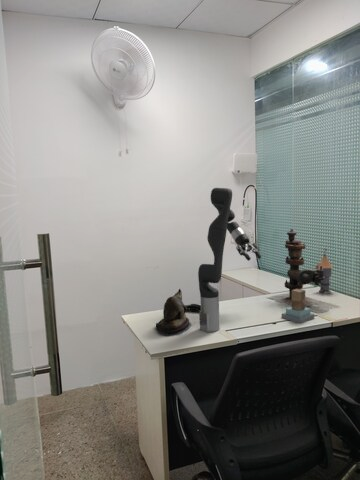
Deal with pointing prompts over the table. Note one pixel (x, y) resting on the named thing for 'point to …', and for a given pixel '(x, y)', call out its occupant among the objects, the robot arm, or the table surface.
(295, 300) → the walnut pillar
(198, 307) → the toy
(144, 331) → the table surface
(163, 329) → the sculpture
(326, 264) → the model tower
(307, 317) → the tower base slab
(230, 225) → the robot arm
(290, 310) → the tower top slab
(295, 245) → the valve
